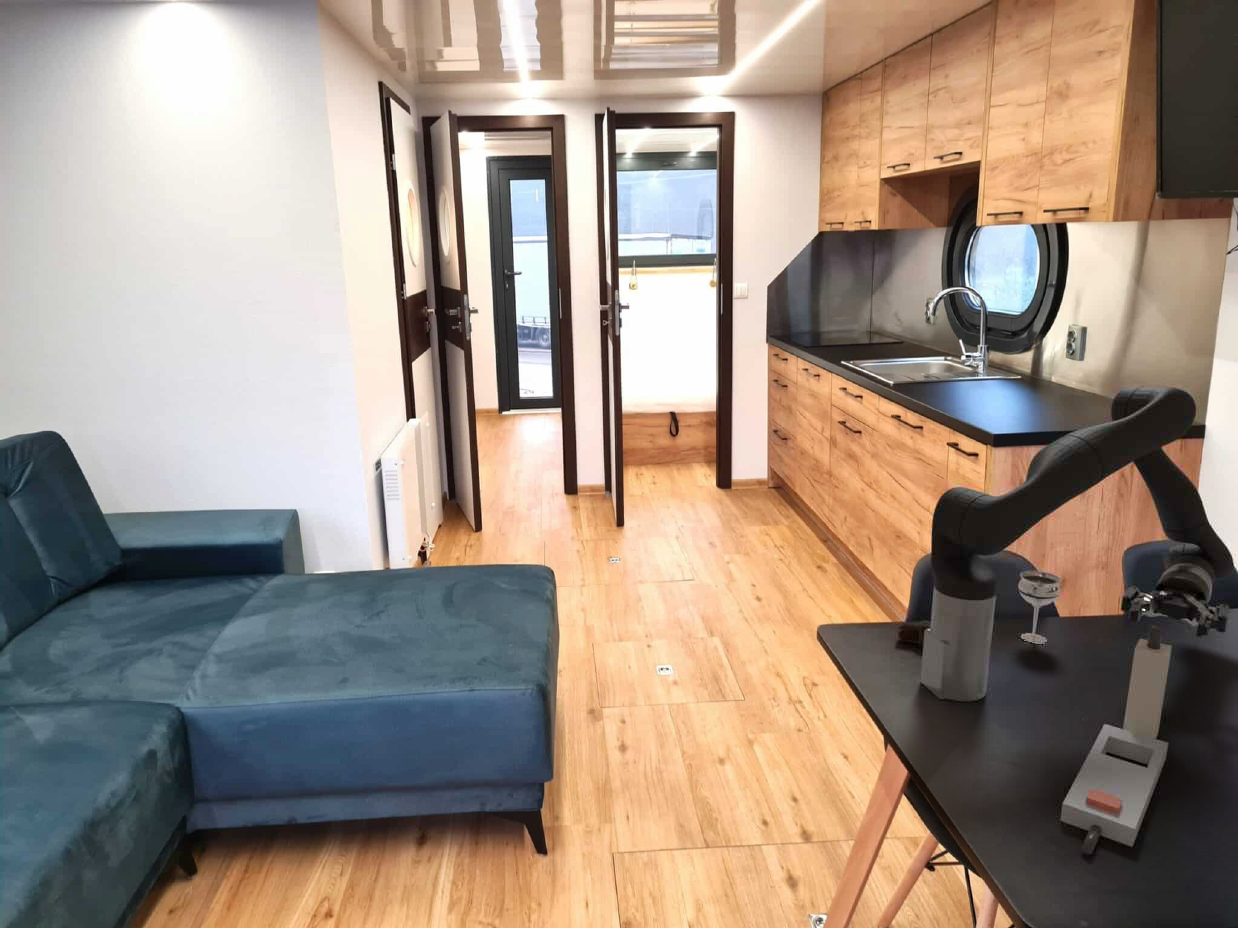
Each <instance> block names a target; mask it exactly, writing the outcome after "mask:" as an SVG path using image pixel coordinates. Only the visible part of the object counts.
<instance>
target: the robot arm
mask: <svg viewBox="0 0 1238 928" xmlns="http://www.w3.org/2000/svg"><path fill="white" fill-rule="evenodd" d="M1110 408H1111V409H1110V416H1111V421H1110V422H1104V423H1100V424H1097V425H1092V426H1088V427H1085V428H1081V429H1078V430H1075V431H1072V432H1070V433H1069V432H1068V433H1067V434H1065V435H1063V436H1061V437H1059V438H1057V439H1056V440H1054V441H1053V442H1051V443H1049V444H1048V445H1046V446H1044V447H1043V448H1042V449H1040V450H1039V451H1038V452H1036V454H1035V455H1034V456H1033V458H1032V459H1031V461H1030V463H1029V467H1028V470H1027V473H1026V479H1025V481H1024V482H1023V483H1022V484H1021V485H1019V486H1018V487H1016V488H1015V489H1013V490H1011V491H1009V492H1007V493H1004V494H1002V495H998V496H995V495H990V494H988V493H984V492H981V491H979V490H978V491H977V490H975V489H970V488H968V487H963V486H956V487H952V488H949V489H947V490H946V491H945V492H943V494H942V495H941V496H940V498H939V499H938V501H937V502H936V504H935V508H934V509H933V510H934V511H933V515H932V520H931V521H932V522H931V538H930V539H931V546H930V547H931V549H930V550H931V551H930V568H931V571H932V574H933V577H934V578H933V579H934V580H933V583H934V584H933V594H932V596H933V597H932V604H931V605H932V607H931V615H930V616H931V617H930V622H931V627H930V629H926V630H925V634H924V646H923V647H922V657H921V658H922V660H921V671H920V672H921V673H920V683H921V684H922V685H924V686H925V688H927V689H928V691H930V692H931V693H932V694H933V695H934V696H935V697H937V698H938V699H939V700H951V701H954V702H956V701H957V702H975V701H979V700H982V699H983V698H984V697H985V696H986V694H987V687H988V676H989V666H990V658H991V657H990V656H991V648H992V647H991V645H992V637H993V628H994V627H993V626H994V619H995V618H994V615H995V608H996V607H995V606H996V600H997V599H996V598H997V590H998V589H997V588H998V578H997V576H996V574H995V573H994V571H993V570H992V569H991V568H990V567H989V566H988V565H987V564H986V563H985V561H983V560H982V557H981V556H984V557H985V556H993V555H996V554H999V553H1000V552H1002V551H1004V550H1005V549H1007V548H1009V546H1011V545H1012V544H1013V543H1015V542H1016V541H1017V540H1019V539H1020V538H1021V537H1022V536H1023V535H1025V534H1026V533H1027V532H1028V531H1029V530H1031V528H1033V527H1034V526H1035V525H1037V524H1038V523H1039V522H1041V521H1042V520H1044V519H1045V518H1046V517H1047V516H1048V515H1051V514H1052V513H1054V512H1055V511H1057V510H1058V509H1060V508H1061V507H1062V506H1064V505H1065V504H1067V503H1069V501H1071V500H1073V499H1075V498H1077V497H1078V496H1080V495H1082V494H1084V493H1085V492H1087V491H1088V490H1090V489H1092V488H1093V487H1095V486H1096V485H1098V484H1099V483H1101V482H1102V481H1103V480H1105V479H1107V478H1108V477H1109V476H1112V475H1113V474H1115V473H1116V472H1118V471H1119V470H1121V469H1123V468H1125V467H1127V466H1128V465H1130V464H1132V462H1133V464H1134V466H1135V468H1136V469H1137V471H1138V473H1139V474H1140V476H1141V478H1142V480H1143V482H1144V483H1145V486H1146V487H1147V489H1148V491H1149V493H1150V496H1151V498H1152V501H1153V503H1154V506H1155V509H1156V512H1157V516H1158V518H1159V521H1160V524H1161V527H1162V530H1163V533H1164V534H1165V536H1166V537H1167V538H1168V540H1170V541H1173V542H1176V543H1179V544H1173V545H1171V546H1169V547H1168V548H1166V549H1165V550H1164V552H1163V557H1162V558H1163V559H1162V561H1163V566H1164V570H1165V571H1164V572H1163V573H1162V575H1161V577H1160V578H1159V580H1158V582H1157V584H1156V586H1154V589H1153V590H1152V591H1150V592H1148V593H1145V592H1141V591H1140V590H1139V587H1137V586H1134V585H1132V586H1129V587H1128V588H1127V590H1126V591H1125V592H1124V593H1123V594H1122V597H1121V605H1120V611H1122V612H1126V613H1127V612H1128V613H1129V614H1128V619H1130V620H1132V623H1134V624H1138V623H1139V622H1140V619H1141V618H1142V616H1147V617H1149V618H1153V617H1158V616H1159V617H1160V616H1163V617H1167V618H1168V619H1171V620H1175V621H1178V622H1179V621H1180V622H1182V621H1183V622H1186V623H1188V624H1190V625H1191V626H1193V627H1197V629H1196V634H1195V635H1196V637H1198V638H1203V636H1205V637H1206V636H1208V635H1209V634H1210V631H1212V629H1215V631H1216V632H1219V633H1222V634H1223V633H1226V629H1227V623H1228V617H1229V609H1230V605H1228V604H1225V603H1223V604H1222V603H1221V604H1219V606H1218V605H1216V606H1209V604H1208V603H1209V602H1210V600H1211V597H1212V591H1213V586H1214V584H1215V581H1217V582H1218V581H1223V580H1226V579H1227V578H1229V577H1230V576H1231V575H1232V573H1233V571H1234V566H1235V563H1234V558H1233V556H1232V552H1231V551H1230V550H1229V548H1228V546H1227V545H1226V544H1225V542H1224V541H1223V540H1222V539H1221V538H1220V536H1219V535H1218V533H1216V531H1215V530H1214V528H1213V527H1212V524H1211V523H1210V521H1209V519H1208V515H1207V513H1206V510H1205V507H1204V503H1203V500H1202V497H1201V495H1200V491H1198V489H1197V487H1196V486H1195V484H1194V483H1193V482H1192V481H1191V480H1190V478H1189V477H1188V476H1187V475H1186V474H1185V472H1184V471H1182V470H1181V468H1179V466H1178V465H1176V464H1175V462H1173V460H1172V459H1171V458H1170V457H1169V455H1168V454H1167V453H1166V452H1165V451H1164V449H1163V447H1165V446H1168V445H1169V444H1171V443H1174V442H1175V441H1177V440H1179V439H1180V438H1181V437H1183V436H1185V434H1187V432H1188V431H1189V429H1190V428H1191V426H1192V425H1193V423H1194V422H1195V419H1196V415H1197V405H1196V402H1195V400H1194V398H1193V397H1192V395H1191V394H1190V393H1189V392H1187V391H1185V390H1183V389H1180V388H1177V387H1173V386H1162V385H1160V386H1159V385H1157V386H1156V385H1155V386H1154V385H1153V386H1151V385H1150V386H1149V385H1133V386H1127V387H1125V388H1122V389H1121V390H1119V391H1118V393H1117V394H1116V395H1115V396H1114V398H1113V401H1112V402H1111V406H1110Z"/></svg>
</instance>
